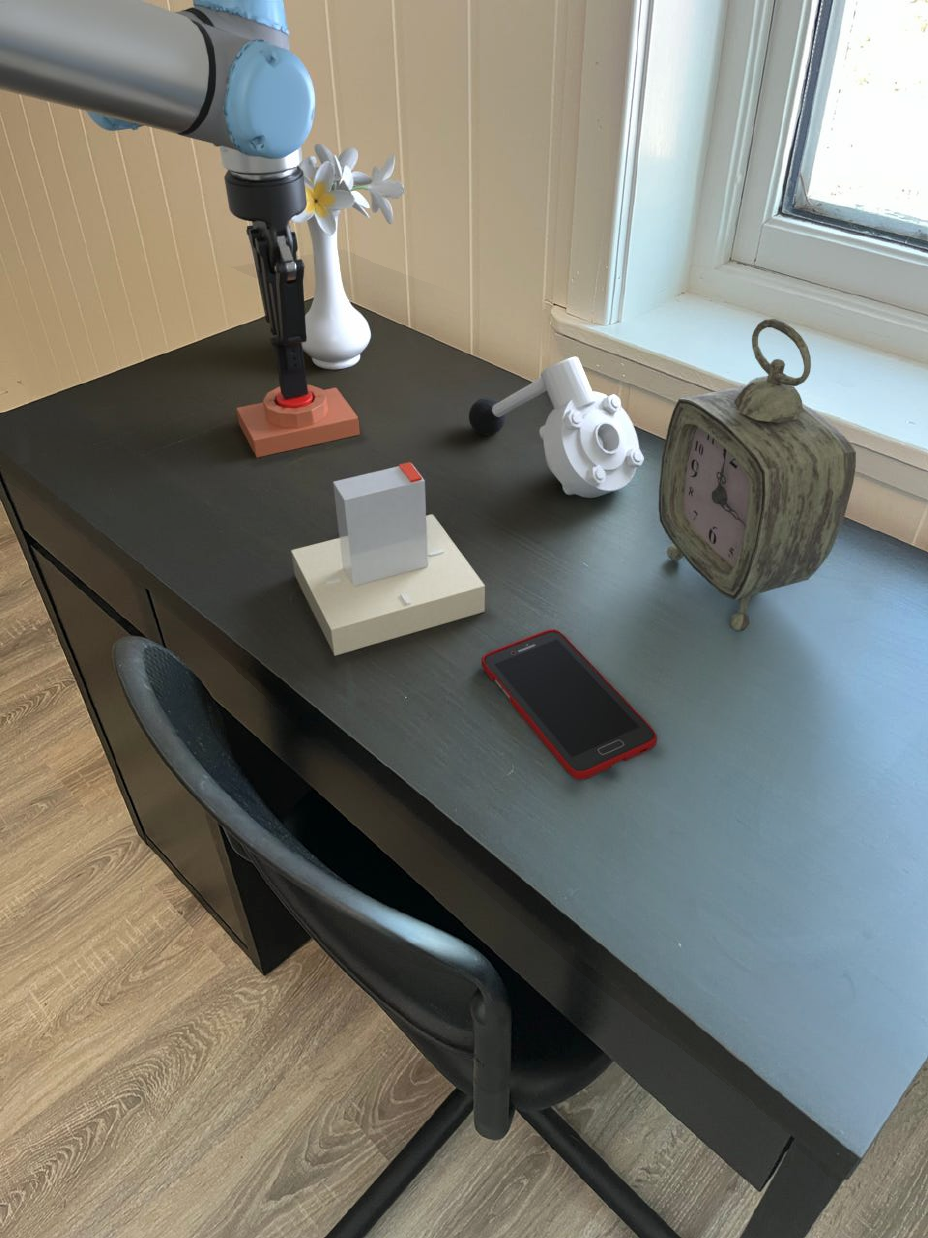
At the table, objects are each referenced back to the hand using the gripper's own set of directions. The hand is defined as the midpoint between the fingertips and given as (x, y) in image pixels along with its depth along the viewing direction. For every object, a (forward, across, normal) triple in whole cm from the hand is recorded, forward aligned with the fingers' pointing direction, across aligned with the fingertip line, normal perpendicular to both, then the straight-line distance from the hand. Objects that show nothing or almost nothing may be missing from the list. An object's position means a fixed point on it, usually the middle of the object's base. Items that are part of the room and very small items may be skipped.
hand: (294, 393), depth 106 cm
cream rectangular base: (+5, +32, -1) cm, 32 cm away
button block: (+5, 0, 0) cm, 5 cm away
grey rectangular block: (+1, +32, -1) cm, 32 cm away
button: (+2, 0, 0) cm, 2 cm away
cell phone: (+5, +51, +7) cm, 52 cm away
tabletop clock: (+5, +44, +28) cm, 52 cm away
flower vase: (+5, -16, +10) cm, 19 cm away
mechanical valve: (+5, +18, +22) cm, 29 cm away
